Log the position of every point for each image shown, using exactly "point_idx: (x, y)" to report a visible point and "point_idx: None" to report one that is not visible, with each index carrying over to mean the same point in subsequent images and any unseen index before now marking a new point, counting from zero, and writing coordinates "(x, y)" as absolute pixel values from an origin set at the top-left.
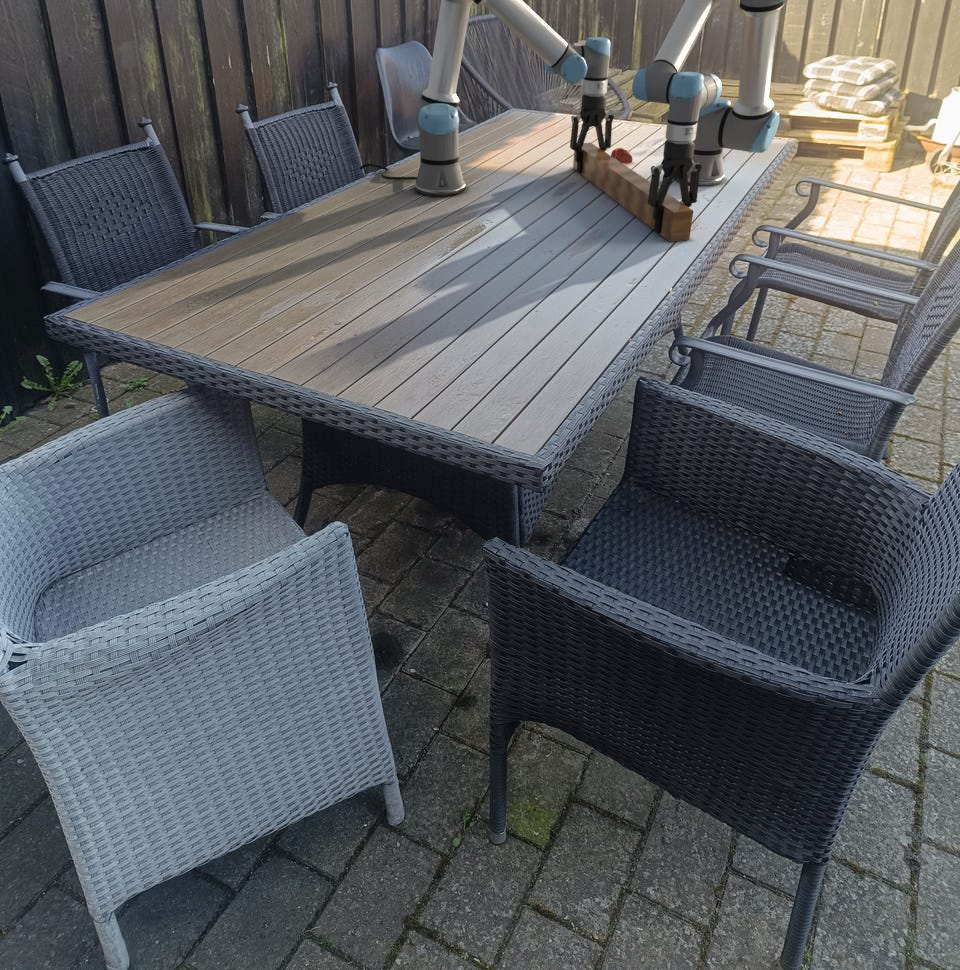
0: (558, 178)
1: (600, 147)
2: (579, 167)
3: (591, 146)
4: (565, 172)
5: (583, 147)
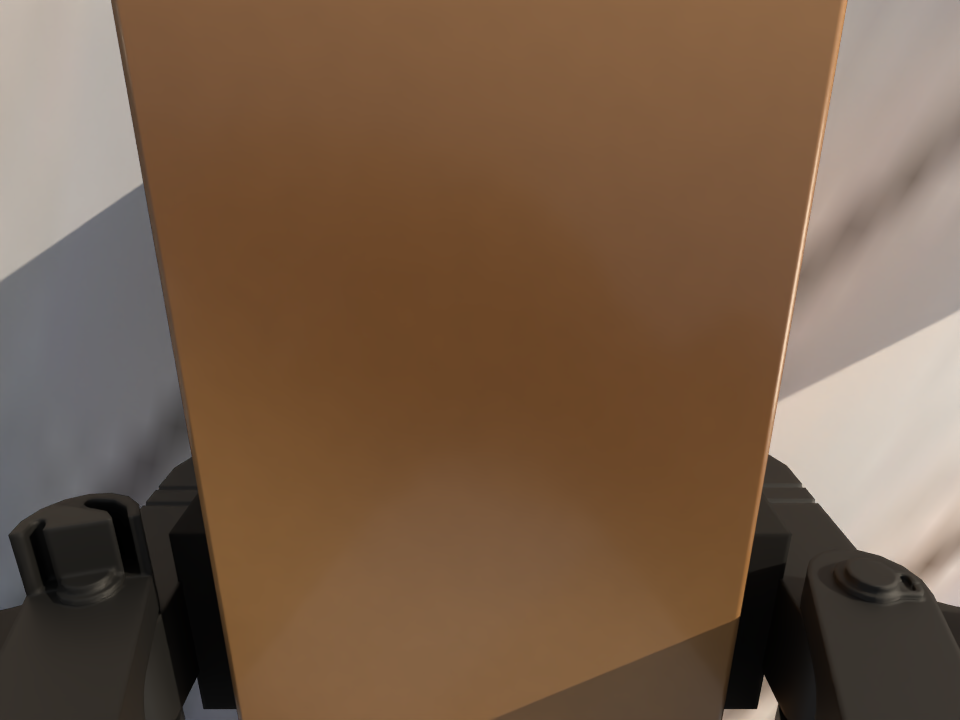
0: (3, 499)
1: (800, 661)
2: None
3: (593, 533)
4: (149, 254)
5: (309, 571)
